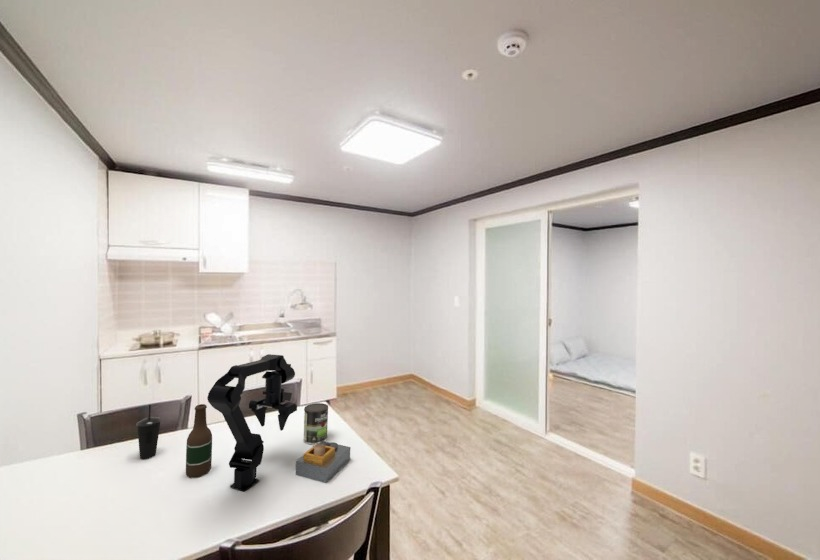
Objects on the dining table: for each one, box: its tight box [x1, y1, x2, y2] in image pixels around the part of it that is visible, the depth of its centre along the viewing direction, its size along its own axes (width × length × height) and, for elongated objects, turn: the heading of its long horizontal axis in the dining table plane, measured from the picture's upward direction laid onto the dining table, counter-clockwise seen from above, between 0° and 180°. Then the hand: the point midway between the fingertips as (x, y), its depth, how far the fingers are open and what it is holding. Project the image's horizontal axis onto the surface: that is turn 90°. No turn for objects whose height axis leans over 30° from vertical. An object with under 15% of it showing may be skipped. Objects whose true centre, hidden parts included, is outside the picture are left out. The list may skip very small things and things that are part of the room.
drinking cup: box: [135, 404, 162, 460], centre depth 126 cm, size 8×8×20 cm
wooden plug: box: [314, 444, 325, 456], centre depth 118 cm, size 4×4×9 cm
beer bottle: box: [185, 403, 213, 479], centre depth 116 cm, size 8×8×24 cm
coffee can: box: [303, 402, 329, 445], centre depth 143 cm, size 10×10×14 cm
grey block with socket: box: [294, 441, 351, 484], centre depth 121 cm, size 16×13×8 cm
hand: (272, 428), depth 124 cm, fingers open, 9 cm apart
